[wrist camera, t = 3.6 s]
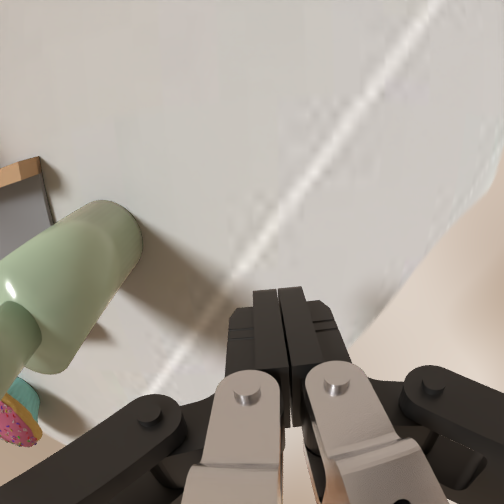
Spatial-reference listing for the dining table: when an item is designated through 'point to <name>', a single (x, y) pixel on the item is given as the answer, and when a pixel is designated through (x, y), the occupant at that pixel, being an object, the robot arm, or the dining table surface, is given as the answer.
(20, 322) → the bottle
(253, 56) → the dining table surface
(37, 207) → the wooden shallow tray
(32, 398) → the cupcake
